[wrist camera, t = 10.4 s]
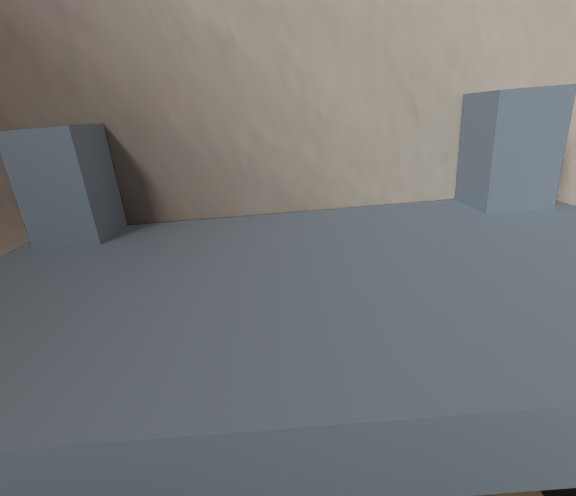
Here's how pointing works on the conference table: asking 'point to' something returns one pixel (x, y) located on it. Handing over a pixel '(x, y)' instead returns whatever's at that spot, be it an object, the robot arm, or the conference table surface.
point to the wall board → (295, 330)
